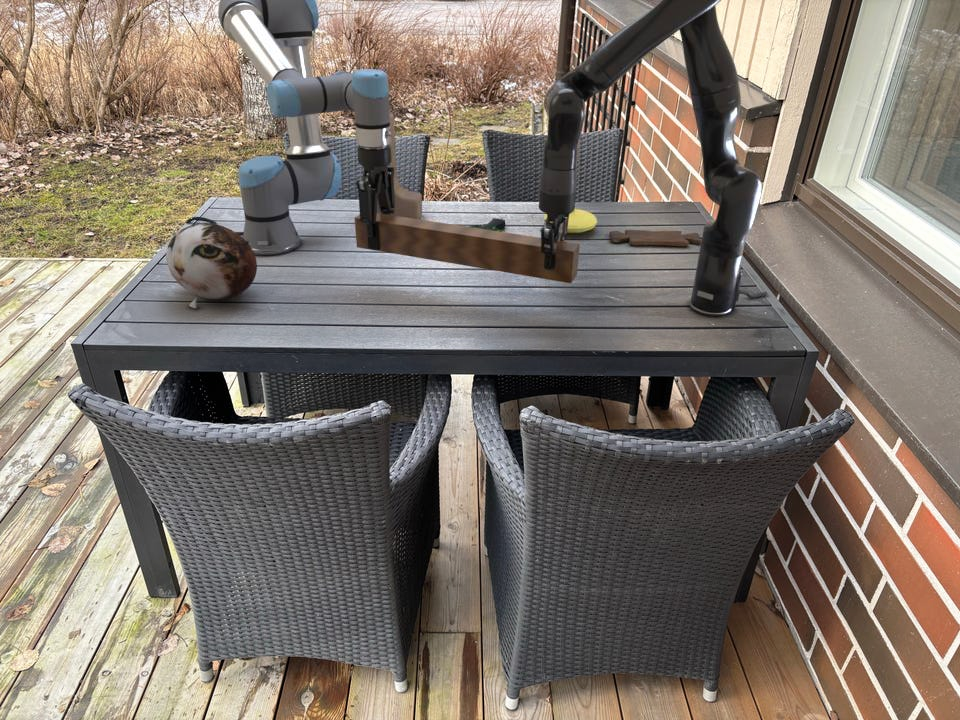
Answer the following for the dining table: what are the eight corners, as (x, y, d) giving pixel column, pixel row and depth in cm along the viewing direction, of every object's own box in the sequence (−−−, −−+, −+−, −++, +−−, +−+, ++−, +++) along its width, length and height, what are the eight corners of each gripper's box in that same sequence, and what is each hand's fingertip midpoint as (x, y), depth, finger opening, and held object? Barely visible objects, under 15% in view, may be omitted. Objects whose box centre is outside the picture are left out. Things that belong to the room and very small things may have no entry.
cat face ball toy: (130, 285, 161) (164, 203, 163) (192, 308, 177) (221, 233, 178) (195, 307, 151) (229, 220, 152) (254, 330, 166) (285, 250, 168)
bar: (356, 247, 169) (354, 217, 166) (367, 240, 174) (364, 211, 170) (571, 283, 154) (573, 251, 150) (577, 274, 158) (579, 243, 154)
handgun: (511, 219, 210) (493, 234, 198) (511, 228, 211) (492, 244, 199) (461, 212, 215) (440, 226, 203) (461, 221, 217) (440, 236, 204)
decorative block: (417, 223, 213) (414, 119, 198) (368, 220, 215) (361, 117, 199) (422, 214, 220) (419, 113, 204) (375, 212, 221) (368, 111, 206)
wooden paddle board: (704, 248, 200) (696, 236, 208) (705, 243, 199) (697, 230, 207) (612, 245, 200) (607, 232, 208) (612, 239, 199) (608, 227, 208)
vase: (559, 216, 220) (561, 193, 217) (605, 227, 212) (608, 204, 209) (532, 230, 209) (533, 207, 206) (580, 242, 201) (582, 218, 198)
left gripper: (368, 157, 149) (375, 260, 161) (407, 138, 164) (411, 234, 176) (337, 153, 152) (346, 255, 164) (378, 134, 166) (384, 229, 178)
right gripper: (566, 200, 140) (560, 279, 149) (584, 180, 152) (577, 255, 160) (530, 195, 142) (526, 273, 151) (550, 176, 154) (545, 250, 163)
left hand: (380, 244), depth 170 cm, fingers closed on bar, 5 cm apart
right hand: (552, 263), depth 156 cm, fingers closed on bar, 5 cm apart
